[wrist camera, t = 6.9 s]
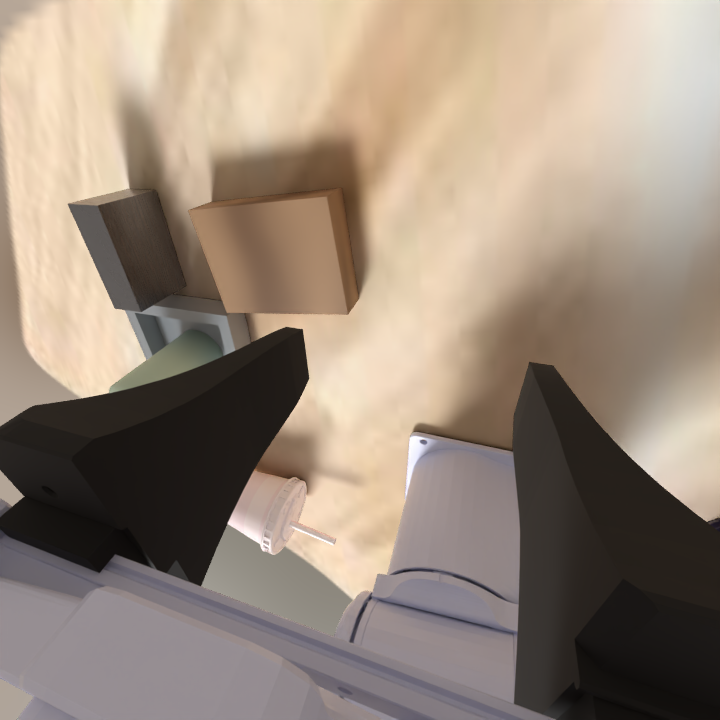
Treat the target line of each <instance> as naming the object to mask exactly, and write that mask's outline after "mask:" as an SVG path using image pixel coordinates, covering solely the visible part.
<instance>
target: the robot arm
mask: <svg viewBox="0 0 720 720" xmlns="http://www.w3.org/2000/svg"><path fill="white" fill-rule="evenodd" d="M308 380H309V373H308V366H307V358H306V350H305V343H304V335H303V329H296V328H290V327H285V328H282V329H280V330H277V331H275V332H273V333H271V334H268V335H266V336H264V337H262V338H260V339H258V340H256V341H254V342H252V343H250V344H248V345H246V346H244V347H242V348H240V349H238V350H235V351H233V352H231V353H229V354H227V355H224V356H222V357H220V358H218V359H215V360H213V361H211V362H209V363H206V364H204V365H202V366H199V367H197V368H194V369H191V370H189V371H186V372H183V373H180V374H177V375H174V376H172V377H168V378H165V379H162V380H158V381H155V382H151V383H148V384H144V385H141V386H137V387H134V388H130V389H126V390H121V391H117V392H113V393H108V394H103V395H98V396H93V397H88V398H82V399H76V400H70V401H63V402H56V403H50V404H43V405H35V406H32V407H30V408H28V409H27V410H25V411H23V412H22V413H20V414H19V415H17V416H16V417H14V418H13V419H11V420H9V421H8V422H7V423H5V424H4V425H2V426H0V470H1V471H2V472H3V473H4V475H5V476H6V477H7V478H8V479H9V480H10V481H11V482H12V483H13V484H14V486H15V487H16V488H17V489H18V490H19V491H20V492H21V493H22V494H23V495H24V496H25V497H23V498H22V499H21V500H20V501H19V502H18V503H16V504H15V505H14V506H13V507H12V506H11V505H9V504H8V503H7V502H5V501H4V500H2V499H0V678H1V679H3V680H4V681H6V682H8V683H10V684H12V685H14V686H16V687H17V688H19V689H21V690H23V691H25V692H26V693H28V694H30V695H32V696H34V698H33V699H32V700H31V702H30V703H29V704H28V705H27V707H26V708H25V709H24V711H23V712H22V713H21V714H20V716H19V717H18V718H17V720H720V532H719V531H718V530H716V529H715V528H714V527H713V526H711V525H710V524H709V523H707V522H706V521H705V520H703V519H702V518H701V517H699V516H698V515H697V514H695V513H694V512H693V511H692V510H690V509H689V508H688V507H687V506H685V505H684V504H683V503H682V502H680V501H679V500H678V499H677V498H675V497H674V496H673V495H672V494H671V493H669V492H668V491H667V490H666V489H664V488H663V487H662V486H661V485H660V484H659V483H657V482H656V481H655V480H654V479H653V478H652V477H651V476H650V475H648V474H647V473H646V472H645V471H644V470H643V469H642V468H641V467H640V466H639V465H638V464H637V463H636V462H634V461H633V460H632V459H631V458H630V457H629V456H628V455H627V454H626V453H625V452H624V451H623V450H622V449H621V448H620V447H619V446H618V445H617V444H616V443H615V442H614V441H613V439H612V438H611V437H610V436H609V435H608V434H607V433H606V432H605V431H604V430H603V429H602V428H601V426H600V425H599V424H598V423H597V422H596V421H595V419H594V418H593V417H592V416H591V415H590V413H589V412H588V411H587V410H586V409H585V407H584V406H583V405H582V404H581V402H580V401H579V400H578V398H577V397H576V396H575V394H574V393H573V392H572V390H571V389H570V388H569V386H568V385H567V384H566V382H565V381H564V380H563V378H562V377H561V375H560V374H559V373H558V371H557V370H556V369H555V367H554V366H552V365H545V364H538V363H531V362H529V366H528V369H527V372H526V376H525V379H524V383H523V386H522V390H521V393H520V396H519V400H518V403H517V407H516V410H515V413H514V422H513V452H512V451H507V450H502V449H497V448H493V447H488V446H483V445H478V444H473V443H468V442H464V441H459V440H454V439H449V438H444V437H440V436H435V435H430V434H425V433H420V432H413V433H411V435H410V440H409V453H408V465H407V478H406V491H405V504H404V508H403V512H402V516H401V520H400V524H399V528H398V533H397V537H396V541H395V545H394V549H393V553H392V557H391V561H390V565H389V569H388V573H387V575H384V574H377V578H376V582H375V585H374V589H373V592H370V591H363V592H361V593H360V594H359V595H358V596H357V597H356V598H355V599H354V600H353V601H352V602H351V603H350V604H349V605H348V606H347V608H346V609H345V611H344V613H343V615H342V617H341V619H340V621H339V624H338V626H337V629H336V632H335V635H334V636H331V635H329V634H326V633H324V632H321V631H318V630H315V629H313V628H310V627H308V626H305V625H302V624H300V623H297V622H294V621H291V620H289V619H286V618H284V617H281V616H278V615H275V614H273V613H270V612H268V611H265V610H262V609H260V608H257V607H254V606H251V605H249V604H246V603H244V602H241V601H238V600H235V599H233V598H230V597H228V596H225V595H222V594H220V593H217V592H214V591H212V590H209V589H206V588H204V587H201V585H202V582H203V580H204V578H205V575H206V572H207V570H208V568H209V565H210V563H211V560H212V557H213V556H214V553H215V551H216V548H217V546H218V544H219V542H220V539H221V537H222V535H223V532H224V530H225V528H226V526H227V524H228V521H229V519H230V517H231V515H232V513H233V511H234V509H235V507H236V505H237V503H238V501H239V499H240V496H241V494H242V492H243V490H244V488H245V486H246V485H247V483H248V481H249V479H250V477H251V475H252V473H253V471H254V469H255V467H256V466H257V464H258V462H259V460H260V459H261V457H262V456H263V454H264V452H265V451H266V449H267V448H268V446H269V445H270V443H271V442H272V441H273V439H274V438H275V436H276V435H277V433H278V432H279V430H280V429H281V427H282V426H283V424H284V423H285V421H286V420H287V418H288V417H289V415H290V414H291V412H292V411H293V409H294V408H295V406H296V405H297V403H298V401H299V399H300V397H301V395H302V393H303V391H304V389H305V387H306V384H307V382H308ZM422 439H424V440H426V441H424V440H422ZM323 688H324V689H323Z"/></svg>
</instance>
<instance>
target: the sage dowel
mask: <svg viewBox="0 0 720 720" xmlns="http://www.w3.org/2000/svg"><path fill="white" fill-rule="evenodd" d="M222 356H223V353H222V351H221V349H220V347H219V345H218V344H217V343H216V342H215V341H214V340H213V339H212V338H211V337H210V336H209V335H207V334H205V333H203V332H201V331H198V330H188V331H186V332H184V333H183V334H182V335H180V336H179V337H177V338H176V339H175V340H173V341H172V342H171V343H169V344H168V345H167V346H165V347H164V348H162V349H161V350H160V351H158V352H157V353H156V354H154V355H153V356H152V357H150V358H149V359H147V360H146V361H145V362H143V363H142V364H141V365H139V366H138V367H137V368H135V369H134V370H133V371H131V372H130V373H128V374H127V375H126V376H124V377H123V378H122V379H120V380H119V381H118V382H116V383H115V384H113V385H112V386H111V387H110V389H109V393H113V392H117V391H121V390H126V389H130V388H134V387H137V386H141V385H144V384H148V383H151V382H155V381H158V380H162V379H165V378H168V377H172V376H174V375H177V374H180V373H183V372H186V371H189V370H191V369H194V368H197V367H199V366H202V365H204V364H206V363H209V362H211V361H213V360H215V359H218V358H220V357H222Z"/></svg>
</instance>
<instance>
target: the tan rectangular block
mask: <svg viewBox="0 0 720 720" xmlns="http://www.w3.org/2000/svg"><path fill="white" fill-rule="evenodd" d="M188 212H189V214H190V217H191V220H192V222H193V225H194V227H195V230H196V233H197V235H198V238H199V241H200V243H201V246H202V249H203V251H204V254H205V257H206V259H207V262H208V265H209V267H210V270H211V272H212V275H213V278H214V280H215V283H216V286H217V288H218V291H219V294H220V296H221V299H222V302H223V304H224V307H225V309H226V312H227V313H279V314H343V315H348V314H349V312H350V311H351V309H352V308H353V307H354V305H355V304H356V302H357V301H358V299H359V296H358V289H357V283H356V276H355V270H354V263H353V257H352V250H351V244H350V237H349V231H348V224H347V218H346V211H345V205H344V198H343V192H342V188H335V189H326V190H316V191H307V192H298V193H288V194H279V195H270V196H261V197H251V198H242V199H233V200H223V201H214V202H210V203H207V204H204V205H202V206H199V207H196V208H193V209H191V210H188Z"/></svg>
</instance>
